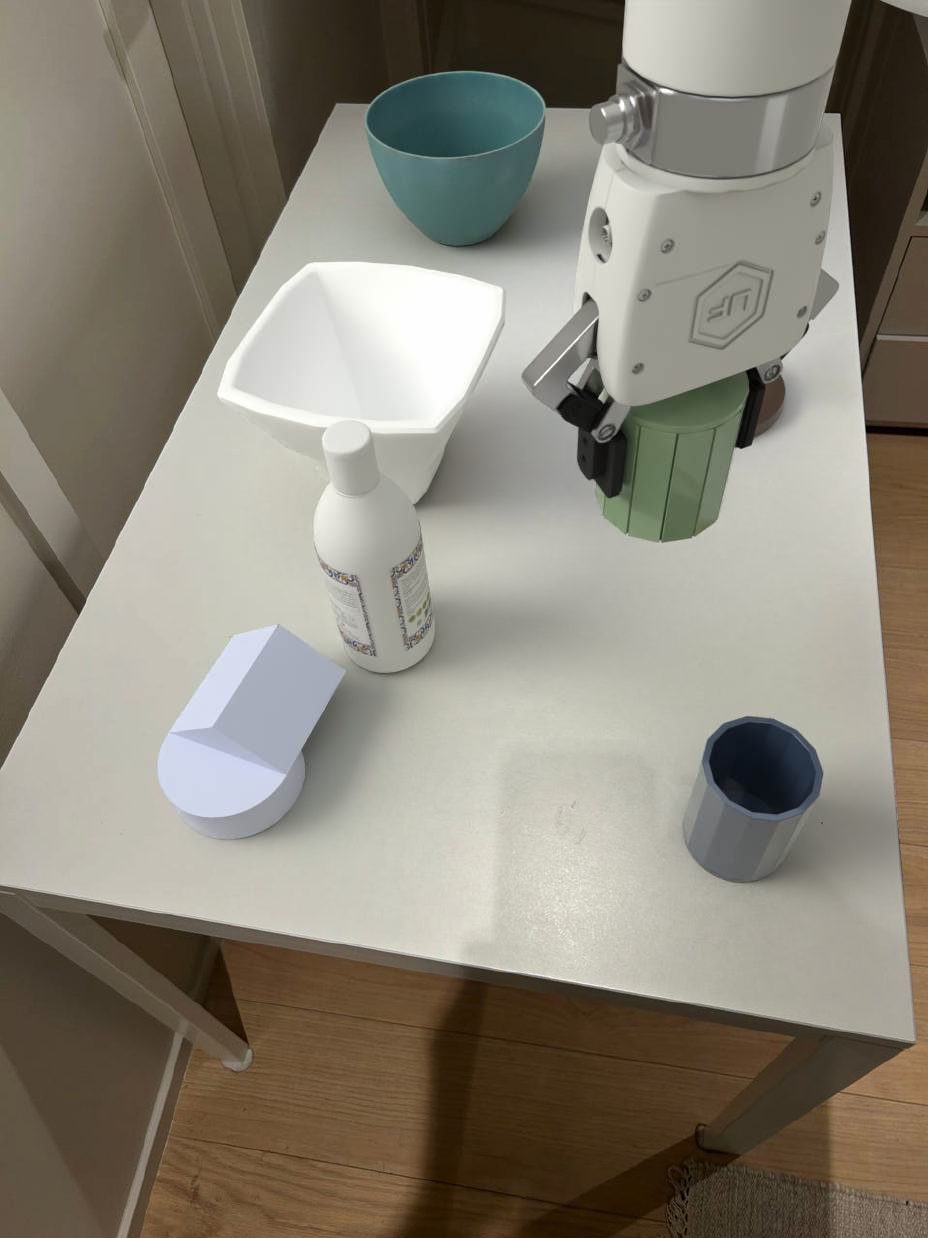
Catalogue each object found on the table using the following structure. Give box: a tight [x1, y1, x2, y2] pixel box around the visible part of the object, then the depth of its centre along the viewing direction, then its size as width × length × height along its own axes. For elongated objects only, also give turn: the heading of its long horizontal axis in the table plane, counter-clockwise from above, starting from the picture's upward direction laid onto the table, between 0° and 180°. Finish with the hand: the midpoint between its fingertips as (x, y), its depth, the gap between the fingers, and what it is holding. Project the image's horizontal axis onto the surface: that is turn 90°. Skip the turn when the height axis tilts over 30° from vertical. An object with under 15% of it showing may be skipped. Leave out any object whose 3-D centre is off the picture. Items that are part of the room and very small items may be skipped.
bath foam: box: [312, 420, 436, 674], centre depth 61 cm, size 7×7×20 cm
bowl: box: [217, 261, 507, 505], centre depth 74 cm, size 19×19×14 cm
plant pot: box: [363, 70, 547, 247], centre depth 98 cm, size 18×18×12 cm
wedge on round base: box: [156, 623, 347, 841], centre depth 62 cm, size 9×7×13 cm
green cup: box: [594, 371, 749, 544], centre depth 48 cm, size 7×7×8 cm
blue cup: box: [682, 715, 824, 883], centre depth 55 cm, size 6×6×9 cm
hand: (665, 453), depth 49 cm, fingers closed on green cup, 7 cm apart
